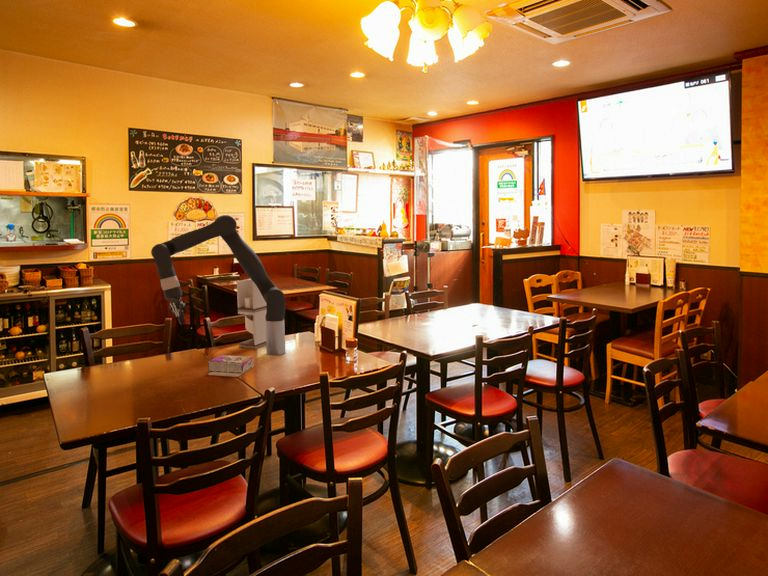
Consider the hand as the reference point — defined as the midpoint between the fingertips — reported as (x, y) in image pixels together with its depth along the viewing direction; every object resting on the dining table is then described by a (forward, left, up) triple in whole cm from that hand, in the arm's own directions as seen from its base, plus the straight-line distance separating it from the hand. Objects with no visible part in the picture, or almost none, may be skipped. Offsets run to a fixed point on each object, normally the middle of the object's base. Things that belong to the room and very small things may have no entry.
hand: (182, 323), depth 242 cm
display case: (-44, +13, -20) cm, 50 cm away
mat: (+1, +24, -20) cm, 31 cm away
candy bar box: (+1, +15, -17) cm, 23 cm away
